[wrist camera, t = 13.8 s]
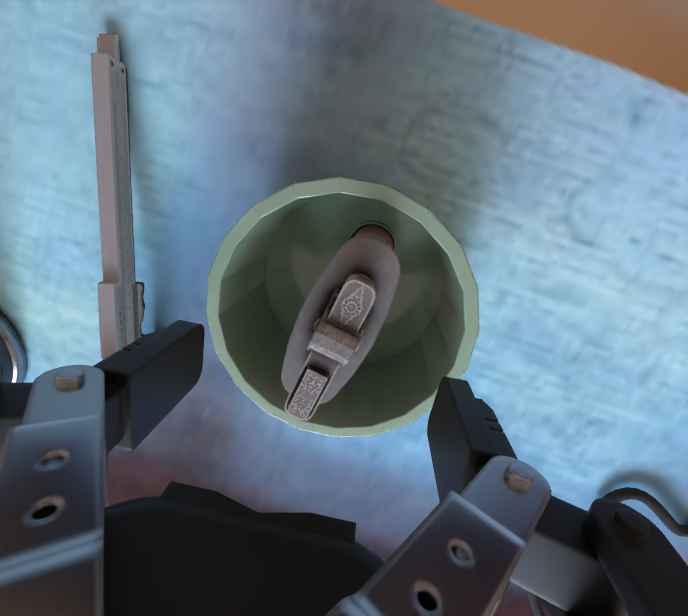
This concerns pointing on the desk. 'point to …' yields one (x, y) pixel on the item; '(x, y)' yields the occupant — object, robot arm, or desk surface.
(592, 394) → the desk surface
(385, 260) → the lighter
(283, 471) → the desk surface
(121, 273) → the caliper
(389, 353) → the pencil cup
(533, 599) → the cable
